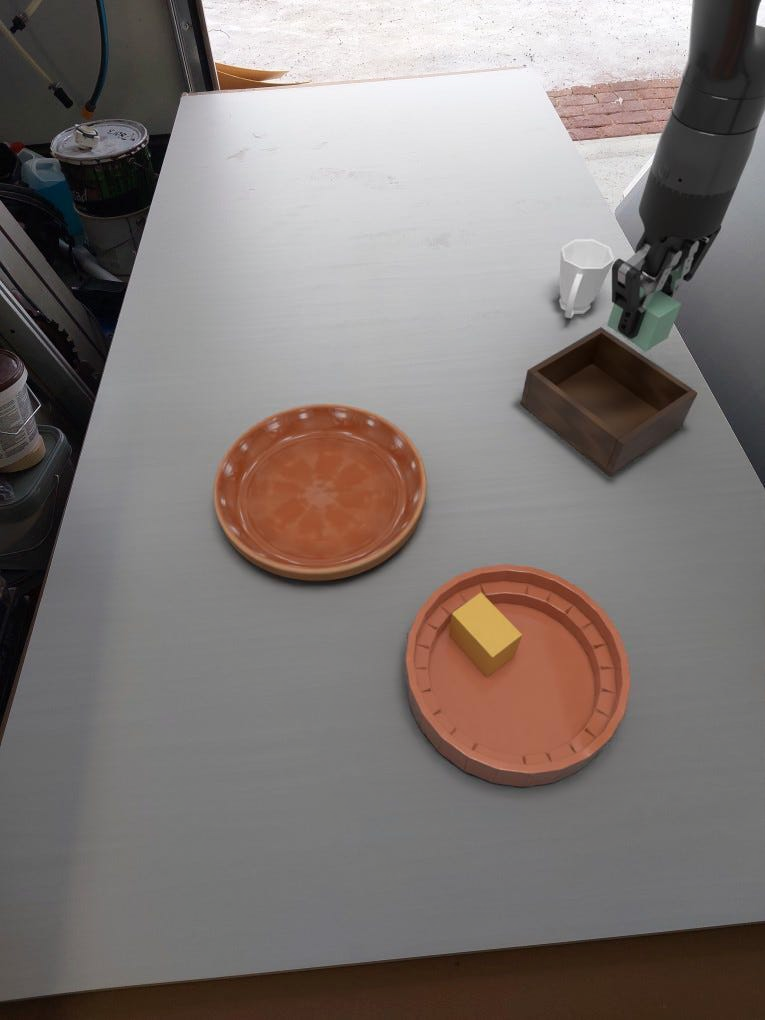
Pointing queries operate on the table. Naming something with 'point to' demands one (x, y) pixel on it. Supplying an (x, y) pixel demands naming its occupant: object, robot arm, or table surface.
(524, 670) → the bowl
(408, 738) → the table surface
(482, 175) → the table surface
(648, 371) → the holder
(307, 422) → the saucer
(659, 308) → the mint green block
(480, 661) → the yellow block
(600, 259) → the cup
